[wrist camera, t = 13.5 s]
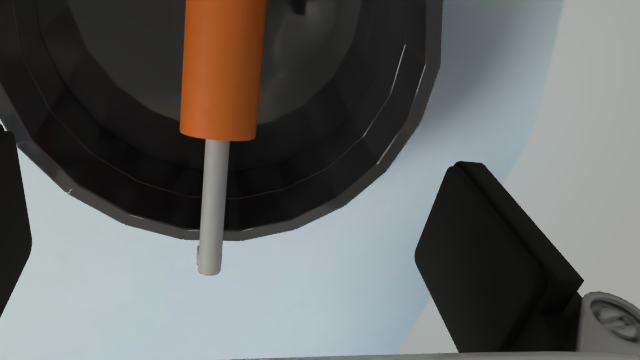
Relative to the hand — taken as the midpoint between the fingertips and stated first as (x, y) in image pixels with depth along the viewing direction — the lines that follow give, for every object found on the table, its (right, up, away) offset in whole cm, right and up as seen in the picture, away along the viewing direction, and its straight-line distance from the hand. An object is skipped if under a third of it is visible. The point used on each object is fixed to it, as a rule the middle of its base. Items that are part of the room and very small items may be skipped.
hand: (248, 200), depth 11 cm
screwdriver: (-3, +3, +9) cm, 9 cm away
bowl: (-2, +7, +9) cm, 12 cm away
